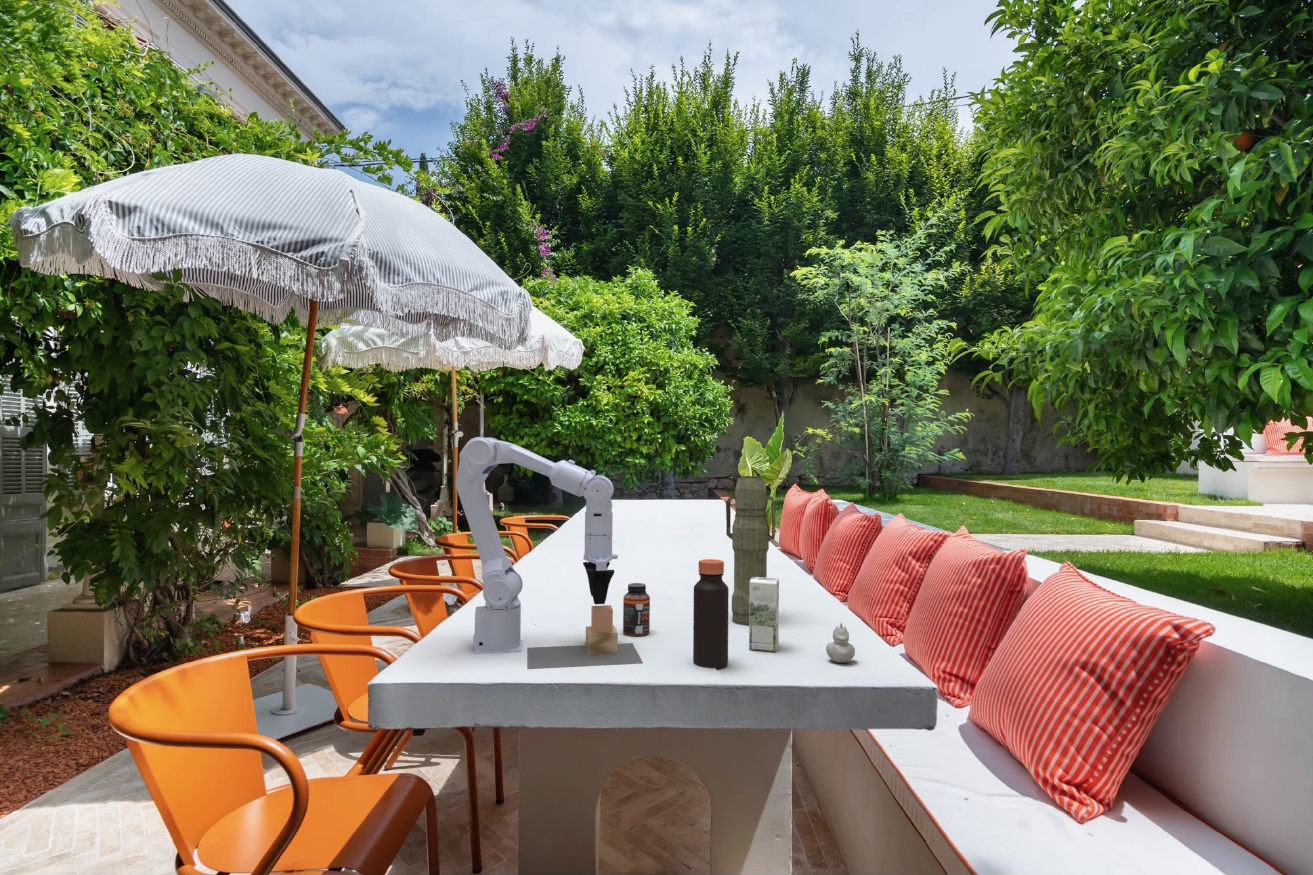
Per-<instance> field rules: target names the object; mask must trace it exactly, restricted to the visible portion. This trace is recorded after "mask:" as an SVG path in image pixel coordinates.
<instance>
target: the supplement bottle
mask: <svg viewBox="0 0 1313 875" xmlns="http://www.w3.org/2000/svg"><path fill="white" fill-rule="evenodd" d="M646 590H647V585H646V583H642V582H631V583H628V584H627V591H628V592H627V593H625V594H624V595H623V606H622V608H623V610H622V611H623V612H622V615H623V616H622V617H623V618H622V634H623V635H624V636H625V637H632V638H639V637H640V638H642V637H647V636H649V634H650V626H651V624H650V623H651V622H650V615H651V612H650V610H651V597H650V595H649V594H648V593H647V591H646Z"/></svg>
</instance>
